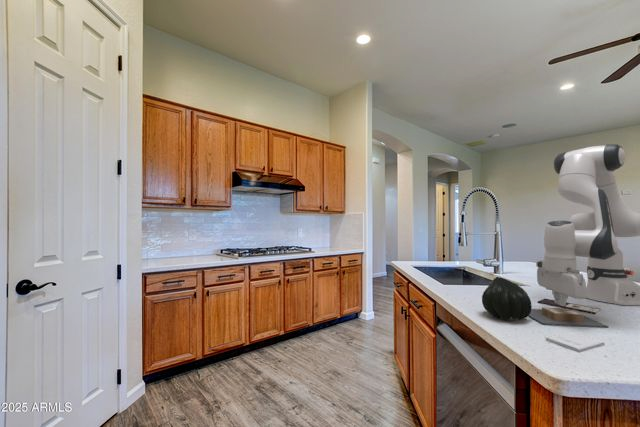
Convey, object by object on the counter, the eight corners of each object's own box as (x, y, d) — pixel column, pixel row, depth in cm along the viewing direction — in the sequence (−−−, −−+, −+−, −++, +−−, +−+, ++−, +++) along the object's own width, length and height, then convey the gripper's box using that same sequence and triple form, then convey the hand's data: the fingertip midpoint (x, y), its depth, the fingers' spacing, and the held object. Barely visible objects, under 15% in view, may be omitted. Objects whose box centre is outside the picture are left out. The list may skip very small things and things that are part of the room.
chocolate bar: (544, 298, 128) (600, 308, 114) (544, 300, 128) (600, 311, 114) (537, 301, 123) (594, 312, 108) (537, 303, 123) (594, 315, 108)
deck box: (568, 308, 105) (583, 314, 98) (568, 315, 105) (583, 322, 98) (541, 307, 106) (554, 313, 99) (541, 314, 106) (554, 321, 99)
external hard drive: (604, 347, 82) (578, 354, 77) (570, 336, 90) (545, 342, 85) (604, 341, 82) (579, 348, 77) (570, 330, 90) (545, 336, 85)
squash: (546, 311, 94) (525, 271, 105) (499, 312, 95) (482, 272, 105) (526, 328, 105) (508, 290, 115) (484, 328, 106) (470, 291, 116)
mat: (572, 312, 111) (572, 310, 111) (608, 328, 95) (608, 326, 95) (516, 309, 113) (516, 308, 113) (542, 324, 97) (542, 323, 97)
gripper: (593, 271, 93) (593, 314, 92) (550, 262, 113) (551, 297, 113) (571, 270, 93) (571, 313, 93) (533, 261, 114) (533, 296, 113)
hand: (560, 304), depth 103 cm, fingers closed
